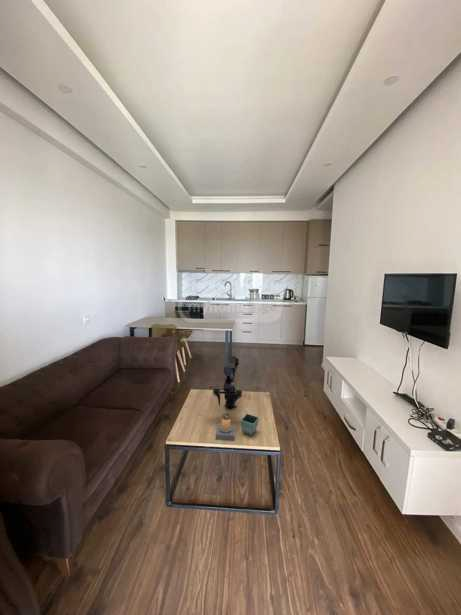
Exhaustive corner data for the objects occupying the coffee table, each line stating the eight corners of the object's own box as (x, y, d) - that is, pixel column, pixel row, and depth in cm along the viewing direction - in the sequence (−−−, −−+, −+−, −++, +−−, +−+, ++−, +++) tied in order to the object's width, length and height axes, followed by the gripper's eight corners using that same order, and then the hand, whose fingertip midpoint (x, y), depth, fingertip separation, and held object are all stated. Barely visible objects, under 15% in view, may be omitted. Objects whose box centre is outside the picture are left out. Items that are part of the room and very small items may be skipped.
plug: (226, 429, 160) (227, 411, 159) (234, 434, 155) (234, 416, 153) (217, 433, 156) (217, 415, 154) (224, 439, 150) (225, 420, 149)
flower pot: (258, 430, 160) (259, 417, 159) (253, 438, 152) (253, 424, 151) (246, 426, 164) (246, 413, 163) (240, 433, 156) (240, 420, 155)
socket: (218, 428, 161) (218, 423, 161) (235, 429, 160) (235, 424, 160) (215, 439, 150) (215, 434, 150) (234, 440, 150) (234, 435, 149)
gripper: (213, 376, 166) (210, 400, 156) (242, 378, 164) (240, 402, 154) (215, 383, 175) (212, 406, 165) (242, 385, 173) (241, 408, 163)
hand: (226, 405), depth 162 cm, fingers open, 9 cm apart
